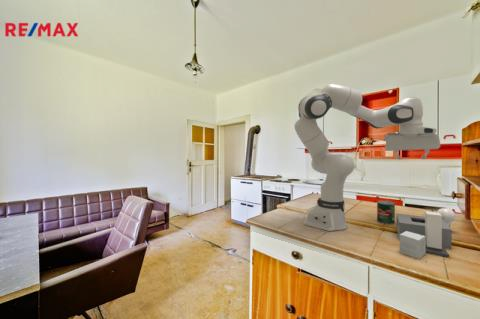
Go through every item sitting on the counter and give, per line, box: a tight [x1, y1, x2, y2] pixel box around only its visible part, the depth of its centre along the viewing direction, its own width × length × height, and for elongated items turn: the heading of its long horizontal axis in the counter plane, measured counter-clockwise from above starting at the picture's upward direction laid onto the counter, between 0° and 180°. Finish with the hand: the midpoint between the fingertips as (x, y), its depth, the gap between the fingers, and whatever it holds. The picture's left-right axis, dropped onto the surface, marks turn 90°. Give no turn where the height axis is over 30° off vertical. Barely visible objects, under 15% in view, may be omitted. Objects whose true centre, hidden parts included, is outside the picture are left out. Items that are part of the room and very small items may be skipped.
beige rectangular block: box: [424, 210, 442, 252], centre depth 75 cm, size 4×4×14 cm
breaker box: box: [395, 213, 453, 250], centre depth 86 cm, size 16×14×8 cm
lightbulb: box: [436, 207, 457, 228], centre depth 92 cm, size 6×6×11 cm
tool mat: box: [425, 245, 450, 259], centre depth 75 cm, size 7×7×1 cm
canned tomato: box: [376, 200, 396, 225], centre depth 106 cm, size 8×8×11 cm
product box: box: [399, 231, 427, 260], centre depth 74 cm, size 6×6×7 cm
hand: (410, 159), depth 95 cm, fingers open, 8 cm apart
